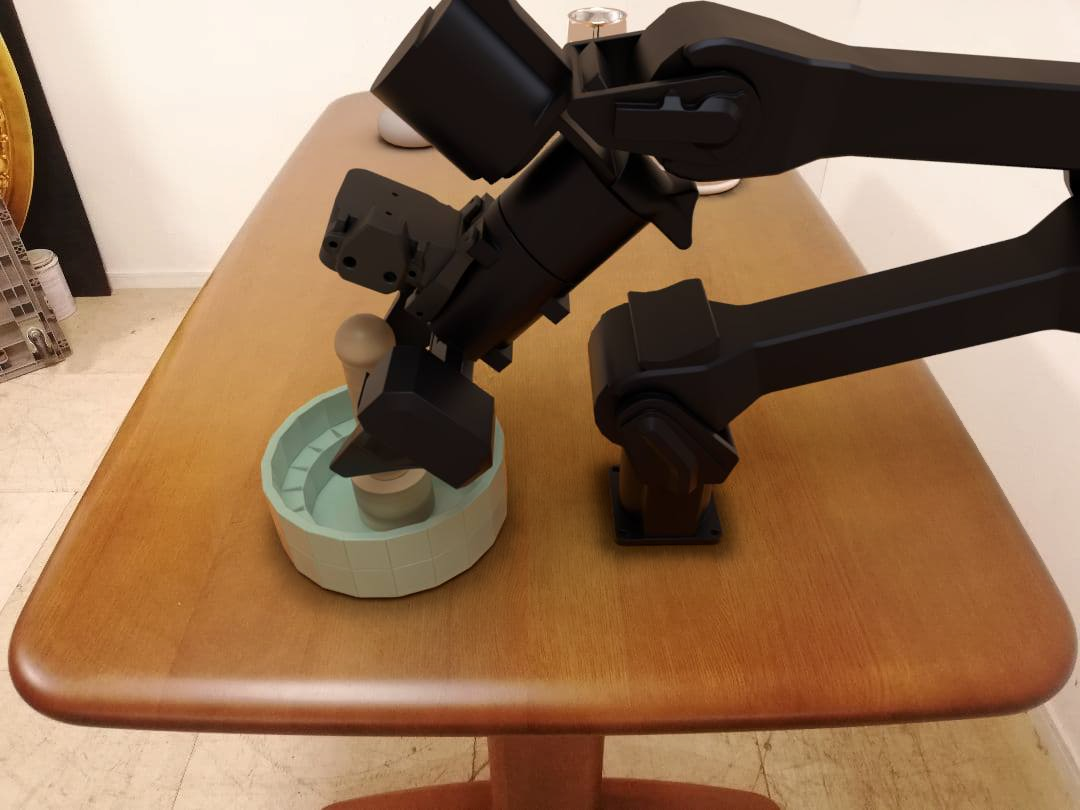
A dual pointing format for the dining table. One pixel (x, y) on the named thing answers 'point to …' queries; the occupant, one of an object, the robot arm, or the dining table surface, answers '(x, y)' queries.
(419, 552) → the bowl
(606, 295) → the dining table surface
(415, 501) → the pestle
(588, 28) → the beer glass
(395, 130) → the donut
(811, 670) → the dining table surface
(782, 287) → the dining table surface
